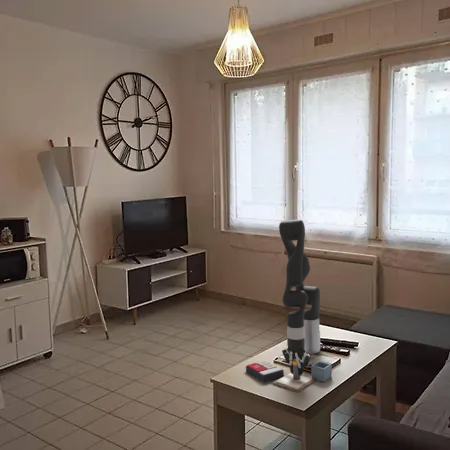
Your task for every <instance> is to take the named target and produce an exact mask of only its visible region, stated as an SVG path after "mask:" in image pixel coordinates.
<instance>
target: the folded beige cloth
mask: <svg viewBox="0 0 450 450" xmlns="http://www.w3.org/2000/svg"><path fill="white" fill-rule="evenodd" d="M316 381H317V380H316V379H314V378H311V376H310V377H309V376H306V375H304V374H302V375H301V379H299V380H295V379H293V374H291V372H288V373H286V374H284V376H283V377H281V378H279V379H277V380H273V381H272V385H273V386H276V387H280V388H283V389H285V390H289V391H292V392H295V393H299V392H301V391H302V390H304V389H306V388H308V387H309V386H310V385H312V384H313V383H315V382H316Z"/></svg>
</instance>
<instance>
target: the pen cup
mask: <svg viewBox="0 0 450 450" xmlns="http://www.w3.org/2000/svg"><path fill="white" fill-rule="evenodd" d="M310 370H311V372H310V373H311V375H310V378H314V379H316V381H318V382H322V383H325V382H328V381H329V380H330V379H331V378H332V364H331V363H328V362H324V361H320V360H318V361H317V362H315V363H313V364H311V367H310Z"/></svg>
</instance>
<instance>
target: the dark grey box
mask: <svg viewBox="0 0 450 450" xmlns="http://www.w3.org/2000/svg"><path fill="white" fill-rule="evenodd" d="M284 371H285V370H284V369H283V368H280V367H278V366H277V365H276V364H273V363H271V362H269V361H267V360H265V359H264V360H262V361H257V362H253V363H250V364H247V365H245V372H246V373H247V374H249V375H250V376H252V377H254V378H256V379H257V380H259V382H261V383H263V384H266V383H269V382H274V381H276V380H278V379H279V378H281V377H283V376H284V375H285V374H284V373H285V372H284Z"/></svg>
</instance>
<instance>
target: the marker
mask: <svg viewBox="0 0 450 450" xmlns="http://www.w3.org/2000/svg"><path fill="white" fill-rule="evenodd" d="M292 362H293V379H295V380H299V379H301V376H299V375H298V363H297V360H296V359H294V360H293V361H292Z"/></svg>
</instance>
